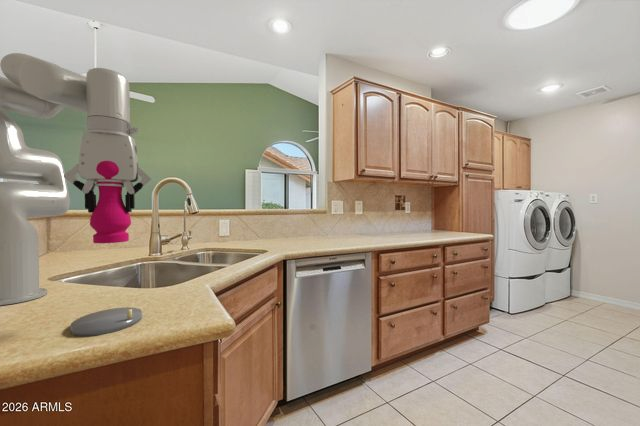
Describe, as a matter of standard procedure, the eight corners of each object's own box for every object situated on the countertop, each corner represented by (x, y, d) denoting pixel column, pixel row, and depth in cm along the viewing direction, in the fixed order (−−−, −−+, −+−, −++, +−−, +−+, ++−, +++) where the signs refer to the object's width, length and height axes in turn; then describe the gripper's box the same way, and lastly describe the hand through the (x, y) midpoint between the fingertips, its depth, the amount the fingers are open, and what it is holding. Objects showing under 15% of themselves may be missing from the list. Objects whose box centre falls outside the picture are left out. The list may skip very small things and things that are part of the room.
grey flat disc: (53, 333, 54) (53, 317, 54) (110, 311, 66) (110, 297, 66) (105, 338, 52) (105, 321, 52) (154, 314, 64) (154, 300, 64)
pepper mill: (85, 244, 56) (83, 145, 55) (95, 241, 62) (94, 152, 62) (128, 242, 59) (126, 149, 59) (134, 239, 65) (132, 155, 65)
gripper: (156, 138, 67) (157, 211, 68) (64, 129, 60) (66, 212, 60) (153, 130, 61) (155, 212, 61) (49, 119, 53) (51, 213, 53)
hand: (110, 211), depth 60 cm, fingers closed on pepper mill, 5 cm apart
